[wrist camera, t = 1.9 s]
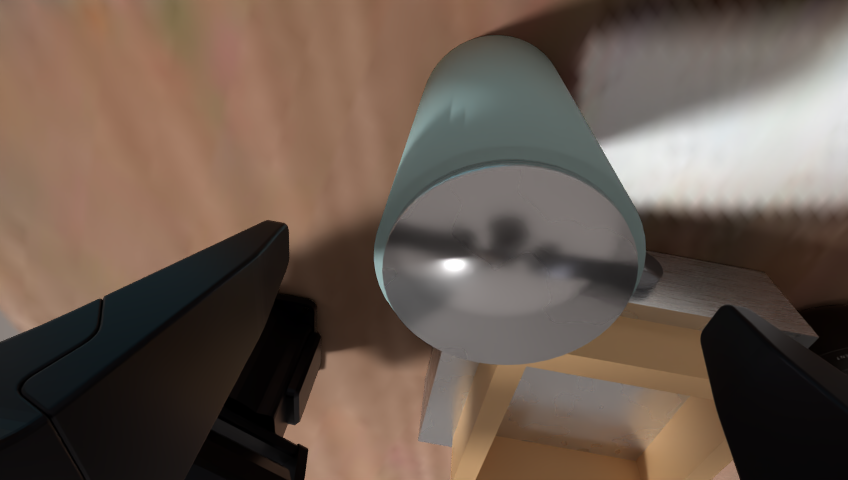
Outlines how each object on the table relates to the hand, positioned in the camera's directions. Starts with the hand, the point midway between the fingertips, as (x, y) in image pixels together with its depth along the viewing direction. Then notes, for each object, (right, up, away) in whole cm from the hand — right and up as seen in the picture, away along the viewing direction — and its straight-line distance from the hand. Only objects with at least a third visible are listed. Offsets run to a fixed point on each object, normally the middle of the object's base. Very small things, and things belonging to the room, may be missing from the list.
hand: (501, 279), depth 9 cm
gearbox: (+6, -4, +15) cm, 16 cm away
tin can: (+1, +6, +8) cm, 10 cm away
